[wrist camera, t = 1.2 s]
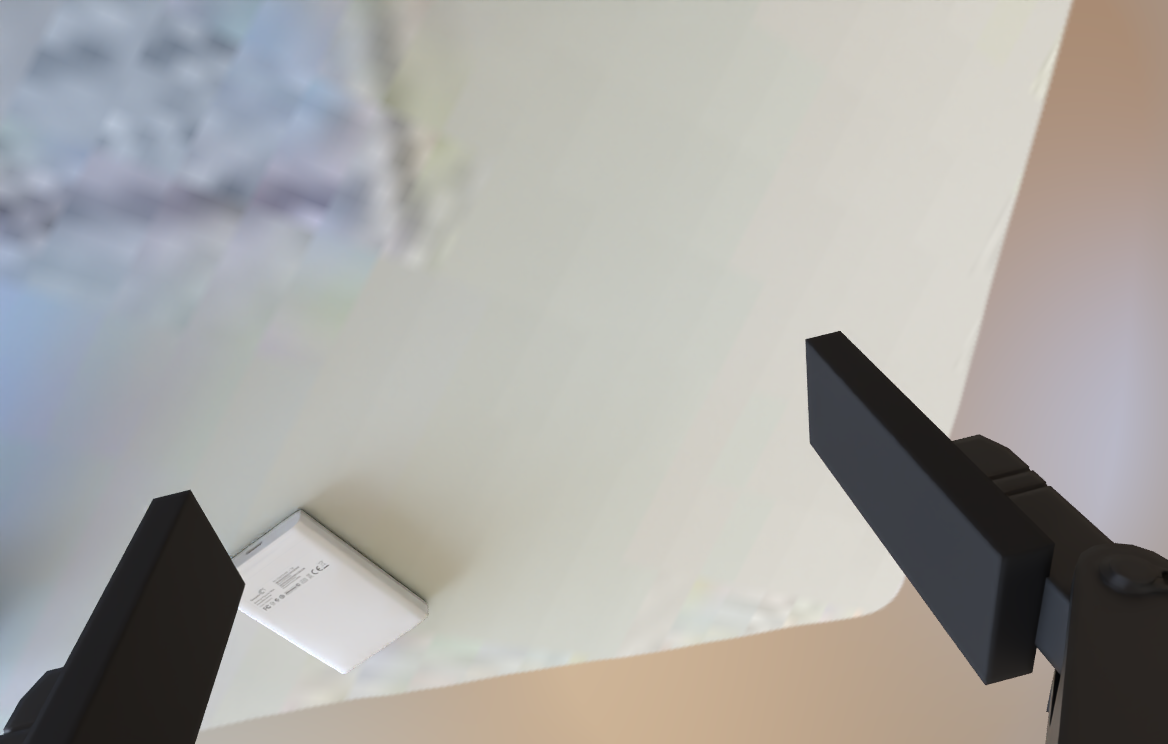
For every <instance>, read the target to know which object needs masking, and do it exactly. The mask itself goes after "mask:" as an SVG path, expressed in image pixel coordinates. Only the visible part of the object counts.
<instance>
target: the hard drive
mask: <svg viewBox="0 0 1168 744" xmlns="http://www.w3.org/2000/svg"><path fill="white" fill-rule="evenodd" d="M231 560H232V562H233V564H234V565H235V567H236V569H237V570H238V572H239V574H240V575H241V577H242V579H243V581H244V582H245V584H246V585H245V588H244V591H243V594H242V597H241V600H240V603H239V607H238V609H239V610H240V611H242V612H243V613H245V614H247V615H248V616H250V617H251V618H253V619H254V620H256V621H258V622H259V623H261V624H263V625H264V626H266V627H267V628H269V629H271V630H272V631H274V632H275V633H277V634H279V635H280V636H282V637H284V638H285V639H287V640H288V641H290V642H292V643H293V644H295V645H297V646H298V647H300V648H301V649H303V650H304V651H306V652H308V653H309V654H311V655H313V656H314V657H316V658H318V659H319V660H321V661H322V662H324V663H326V664H327V665H329V666H331V667H332V668H334V669H336V670H337V671H339V672H340V673H342V674H345V673H347V672H349V671H351V670H352V669H353V668H355V667H356V666H358V665H359V664H361V663H362V662H364V661H365V660H367V659H368V658H370V657H371V656H372V655H374V654H375V653H377V652H378V651H380V650H381V649H383V648H384V647H386V646H387V645H389V644H390V643H392V642H393V641H395V640H396V639H398V638H399V637H400V636H402V635H403V634H405V633H406V632H408V631H409V630H411V629H412V628H414V627H415V626H417V625H418V624H420V623H421V622H422V621H423V620H425V619H426V618H427V617H428V604H427V603H426V602H425V601H424V600H422V599H421V598H420V597H418V596H417V595H415V594H414V593H413V592H412V591H410V590H409V589H407V588H406V587H405V586H403V585H402V584H401V583H399V582H398V581H397V580H395V579H394V578H393V577H391V576H390V575H389V574H387V573H386V572H385V571H383V570H382V569H381V568H379V567H378V566H377V565H375V564H374V563H372V562H371V561H370V560H368V559H367V558H366V557H364V556H363V555H362V554H360V553H359V552H358V551H356V550H355V549H354V548H352V547H351V546H350V545H348V544H347V543H345V542H344V541H343V540H341V539H340V538H339V537H337V536H336V535H335V534H333V533H332V532H331V531H329V530H328V529H327V528H325V527H324V526H323V525H321V524H320V523H318V522H317V521H316V520H314V519H313V518H312V517H311V516H309V515H308V514H306V513H305V512H304V511H302V510H299V511H297V512H295V513H294V514H292V515H291V516H290V517H288V518H287V519H286V520H284V521H283V522H281V523H280V524H279V525H277V526H276V527H274V528H273V529H272V530H270V531H269V532H268V533H266V534H265V535H264V536H262V537H261V538H260V539H258V540H257V541H255V542H254V543H253V544H251V545H250V546H249V547H247V548H246V549H244V550H243V551H242V552H240V553H239V554H238V555H236V556H235V557H234V558H232V559H231Z"/></svg>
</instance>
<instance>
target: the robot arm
mask: <svg viewBox="0 0 1168 744" xmlns="http://www.w3.org/2000/svg"><path fill="white" fill-rule="evenodd" d="M805 341H806V364H807V388H808V411H809V434H810V444H811V445H812V447H813V448H814V449H815V451H816V452H817V454H818V455H819V456H820V458H821V459H822V460H823V462H824V463H825V465H826V466H827V467H828V469H829V470H830V471H831V473H832V474H833V476H834V477H835V478H836V480H837V481H838V483H839V484H840V485H841V487H842V488H843V489H844V491H845V492H846V494H847V495H848V496H849V498H850V499H851V500H852V502H853V503H854V505H855V506H856V507H857V509H858V510H859V512H860V513H861V514H862V516H863V517H864V518H865V520H866V521H867V523H868V524H869V525H870V527H871V528H872V529H873V531H874V532H875V534H876V535H877V536H878V538H879V539H880V541H881V542H882V543H883V545H884V546H885V547H886V549H887V550H888V552H889V553H890V554H891V556H892V557H893V558H894V560H895V561H896V563H897V564H898V565H899V567H900V568H901V570H902V571H903V572H904V574H905V575H906V576H907V578H908V579H909V580H910V582H911V583H912V585H913V586H914V587H915V589H916V590H917V592H918V593H919V594H920V596H921V597H922V599H923V600H924V601H925V603H926V604H927V605H928V607H929V608H930V610H931V611H932V612H933V614H934V615H935V616H936V618H937V619H938V621H939V622H940V623H941V625H942V626H943V628H944V629H945V630H946V632H947V633H948V634H949V636H950V637H951V638H952V640H953V641H954V643H955V644H956V645H957V647H958V648H959V650H960V651H961V652H962V653H963V655H964V657H966V659H967V660H968V662H969V663H970V665H971V666H972V668H973V669H974V670H975V671H976V673H977V674H978V676H979V677H980V678H981V680H982V681H983V683H984V684H985V685H988V684H992V683H996V682H999V681H1003V680H1006V679H1011V678H1014V677H1018V676H1022V675H1026V674H1029V673H1032V671H1033V665H1034V660H1035V654H1036V648H1038V649H1039V650H1040V651H1041V652H1042V654H1043V655H1044V656H1045V657H1046V659H1047V660H1048V661H1049V662H1050V663H1051V664H1052V666H1053V667H1054V668H1055V671H1054V676H1053V681H1052V686H1051V691H1050V696H1049V701H1048V706H1047V711H1046V712H1049V716H1048V726H1047V734H1046V744H1168V560H1167V559H1165V558H1164V557H1162V556H1160V555H1159V554H1157V553H1155V552H1153V551H1150V550H1147V549H1144V548H1141V547H1137V546H1134V545H1128V544H1118V543H1114V542H1112V541H1111V540H1110V539H1109V538H1108V537H1107V536H1105V535H1104V534H1103V533H1102V532H1101V531H1100V530H1099V529H1098V528H1097V527H1095V526H1094V525H1093V524H1092V523H1091V522H1090V521H1089V520H1088V519H1087V518H1085V517H1084V516H1083V515H1082V514H1081V513H1080V512H1079V511H1078V510H1077V509H1076V508H1074V507H1073V506H1072V505H1071V504H1070V503H1069V502H1068V501H1066V499H1064V498H1063V497H1062V496H1061V495H1060V494H1059V493H1058V492H1057V491H1056V490H1054V489H1053V488H1052V487H1051V486H1047V484H1046V482H1045V481H1044V480H1043V479H1042V478H1041V477H1040V476H1039V475H1038V474H1037V473H1036V472H1034V471H1033V470H1032V471H1030V469H1029V466H1028V465H1027V464H1026V463H1024V462H1023V461H1022V460H1021V459H1020V458H1019V457H1018V456H1017V455H1015V454H1014V453H1013V452H1012V451H1011V450H1010V449H1009V448H1007V447H1005V446H1003V445H1001V444H999V443H997V442H994V441H992V440H990V439H988V438H986V437H984V436H981V435H975V436H971V437H967V438H963V439H959V440H955V441H951V440H950V439H949V438H948V437H947V436H946V435H945V434H944V433H943V432H942V431H941V430H940V429H939V428H938V427H937V426H936V425H935V424H934V423H933V422H932V421H931V420H930V419H929V418H928V417H927V416H926V415H925V414H924V413H923V412H922V411H921V410H920V409H919V408H918V407H917V406H916V405H915V404H914V403H913V402H912V401H911V400H910V399H909V398H908V397H907V396H906V395H904V394H903V393H902V392H901V391H900V390H899V389H898V388H897V387H896V386H895V385H894V384H893V383H892V382H891V381H890V380H889V379H888V378H887V377H886V376H885V375H884V374H883V373H882V372H881V371H880V370H879V369H878V368H877V367H876V366H875V365H874V364H873V363H872V362H871V361H870V360H869V359H868V358H867V357H866V356H865V355H864V354H863V353H862V352H861V351H860V350H859V349H858V348H857V347H856V346H855V345H854V344H853V343H852V342H851V341H850V340H849V339H848V338H847V337H846V336H845V335H844V334H843V333H842V332H841V331H838V332H834V333H829V334H825V335H821V336H817V337H813V338H809V339H805ZM245 585H246V584H245V582H244V581H243V579H242V577H241V575H240V574H239V572H238V570H237V569H236V567H235V565H234V564H233V562H232V560H231V558H230V557H229V555H228V553H227V552H226V550H225V548H224V546H223V545H222V543H221V541H220V540H219V538H218V536H217V534H216V533H215V531H214V529H213V528H212V526H211V524H210V522H209V521H208V519H207V517H206V516H205V514H204V512H203V510H202V509H201V507H200V505H199V504H198V502H197V500H196V498H195V497H194V495H193V493H192V492H191V490H188V491H183V492H179V493H175V494H171V495H167V496H163V497H159V498H155V499H153V500H152V502H151V504H150V506H149V508H148V510H147V512H146V513H145V515H144V517H143V519H142V521H141V523H140V525H139V527H138V528H137V530H136V532H135V534H134V536H133V538H132V540H131V542H130V543H129V545H128V547H127V549H126V551H125V553H124V555H123V557H122V558H121V560H120V562H119V564H118V566H117V568H116V570H115V572H114V573H113V575H112V577H111V579H110V581H109V583H108V585H107V587H106V588H105V590H104V592H103V594H102V596H101V598H100V600H99V602H98V603H97V605H96V607H95V609H94V611H93V613H92V615H91V616H90V618H89V620H88V622H87V624H86V626H85V628H84V630H83V631H82V633H81V635H80V637H79V639H78V641H77V643H76V645H75V646H74V648H73V650H72V652H71V654H70V656H69V658H68V660H67V661H66V663H65V665H64V667H62V668H58V669H54V670H50V671H47V672H46V673H45V674H44V675H43V676H42V677H41V678H40V679H39V680H38V681H37V682H36V683H35V685H34V686H33V687H32V688H31V689H30V690H29V691H28V692H27V693H26V694H25V695H24V696H23V698H22V699H21V700H20V701H19V703H18V705H17V706H16V708H15V710H14V712H13V714H12V715H11V717H10V719H9V721H8V722H7V724H6V726H5V728H4V729H3V730H4V735H0V744H195V741H196V739H197V735H198V732H199V729H200V726H201V723H202V720H203V717H204V713H205V710H206V707H207V704H208V701H209V698H210V695H211V691H212V688H213V685H214V682H215V679H216V676H217V673H218V669H219V666H220V663H221V660H222V657H223V654H224V651H225V647H226V644H227V641H228V638H229V635H230V632H231V629H232V625H233V622H234V619H235V616H236V613H237V610H238V607H239V603H240V600H241V597H242V594H243V591H244V588H245Z"/></svg>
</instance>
